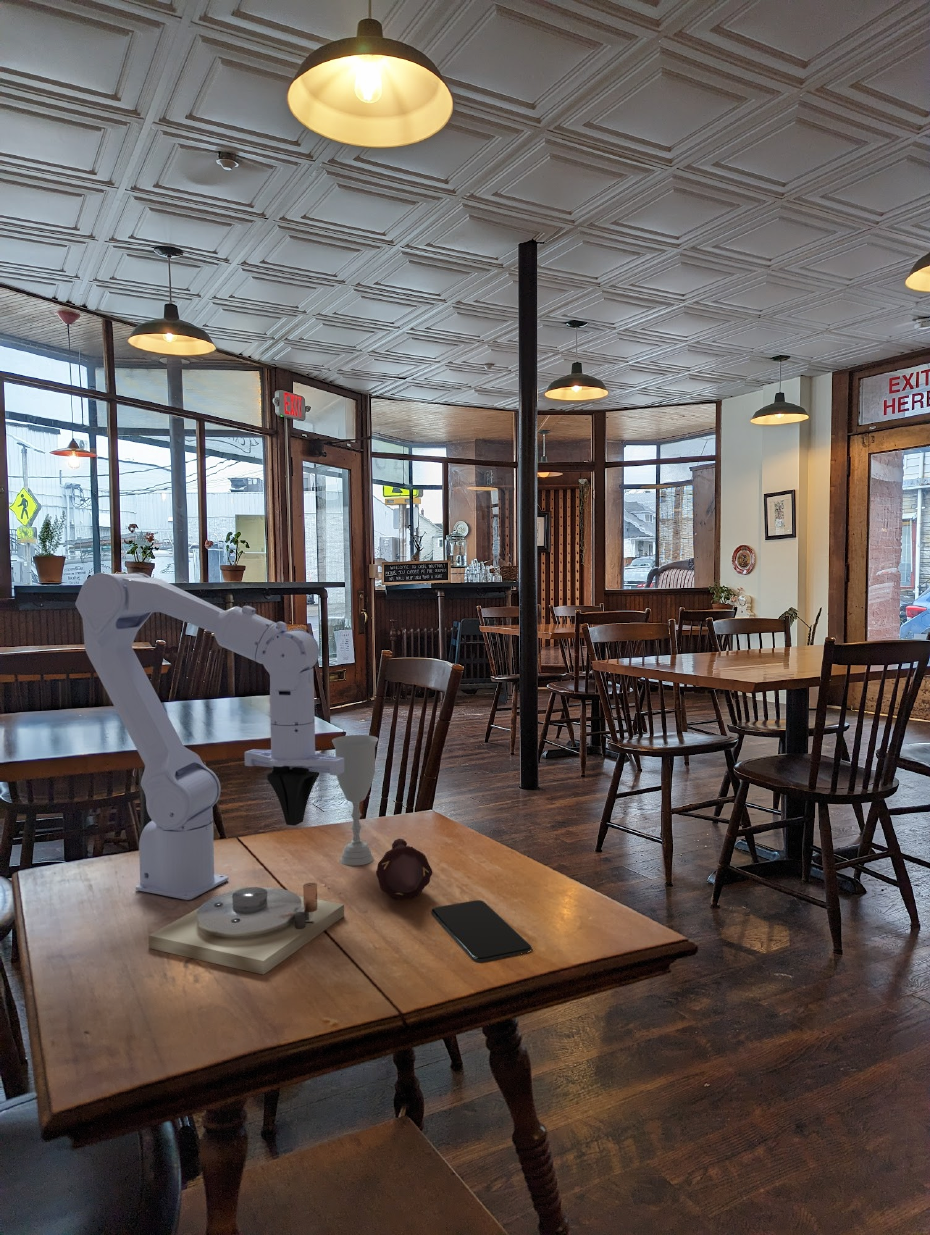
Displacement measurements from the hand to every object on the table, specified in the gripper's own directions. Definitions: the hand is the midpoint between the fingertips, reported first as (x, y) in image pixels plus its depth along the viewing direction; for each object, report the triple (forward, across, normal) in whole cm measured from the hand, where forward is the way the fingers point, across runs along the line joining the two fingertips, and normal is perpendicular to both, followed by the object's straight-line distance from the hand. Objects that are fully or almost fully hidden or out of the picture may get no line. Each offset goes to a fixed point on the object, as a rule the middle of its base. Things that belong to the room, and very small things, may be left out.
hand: (294, 823), depth 108 cm
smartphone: (+10, +27, -1) cm, 29 cm away
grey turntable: (+7, +3, -12) cm, 14 cm away
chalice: (+10, +1, +14) cm, 17 cm away
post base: (+9, +2, -12) cm, 15 cm away
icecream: (+10, +14, +5) cm, 18 cm away
